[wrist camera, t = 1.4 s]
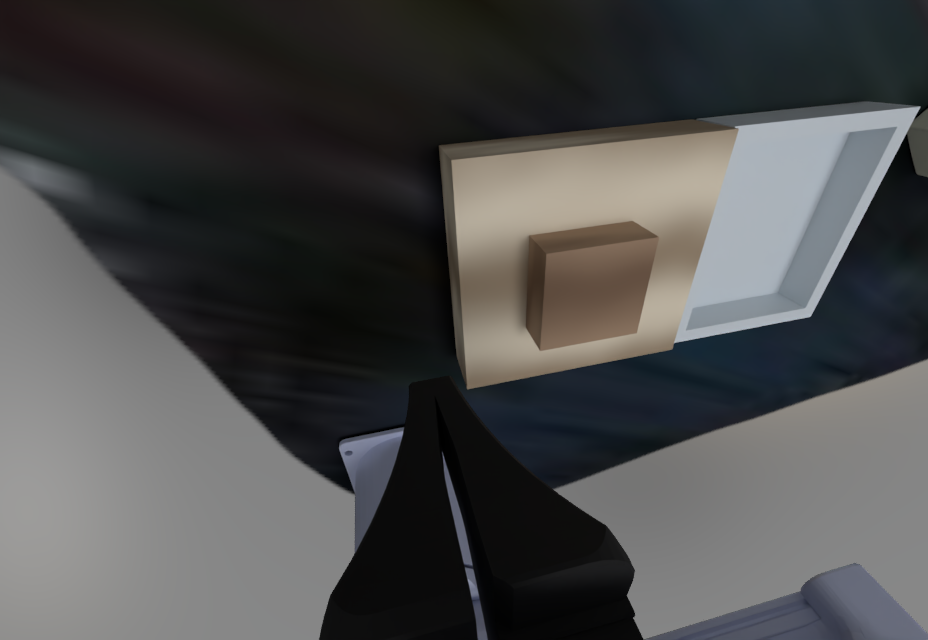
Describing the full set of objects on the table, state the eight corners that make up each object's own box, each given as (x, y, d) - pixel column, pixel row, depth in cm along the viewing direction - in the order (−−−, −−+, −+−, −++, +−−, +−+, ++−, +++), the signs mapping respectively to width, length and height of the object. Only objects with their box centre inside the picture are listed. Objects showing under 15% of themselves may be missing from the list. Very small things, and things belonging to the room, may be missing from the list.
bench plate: (642, 321, 26) (671, 349, 24) (456, 355, 24) (467, 389, 22) (691, 119, 19) (738, 128, 17) (438, 145, 18) (451, 159, 15)
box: (777, 297, 28) (810, 316, 26) (646, 321, 26) (670, 343, 24) (865, 101, 21) (920, 106, 19) (696, 118, 20) (735, 126, 17)
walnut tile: (615, 311, 21) (636, 333, 20) (525, 327, 20) (540, 350, 19) (632, 220, 18) (659, 237, 17) (529, 235, 18) (546, 253, 16)
